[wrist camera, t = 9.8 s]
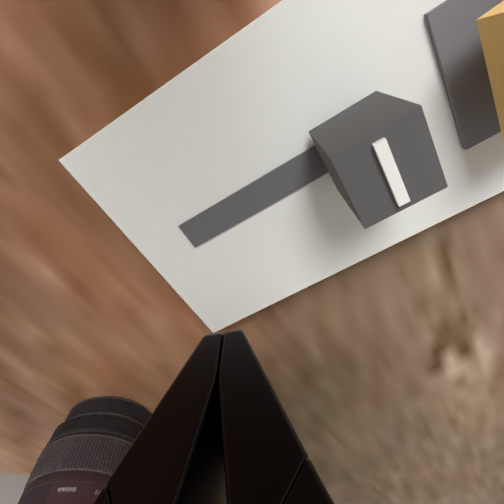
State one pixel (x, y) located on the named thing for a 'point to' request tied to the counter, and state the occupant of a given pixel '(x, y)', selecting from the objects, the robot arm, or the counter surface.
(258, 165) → the panel
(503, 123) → the tan block
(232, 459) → the robot arm
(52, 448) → the camera lens
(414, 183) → the slider
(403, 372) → the counter surface
